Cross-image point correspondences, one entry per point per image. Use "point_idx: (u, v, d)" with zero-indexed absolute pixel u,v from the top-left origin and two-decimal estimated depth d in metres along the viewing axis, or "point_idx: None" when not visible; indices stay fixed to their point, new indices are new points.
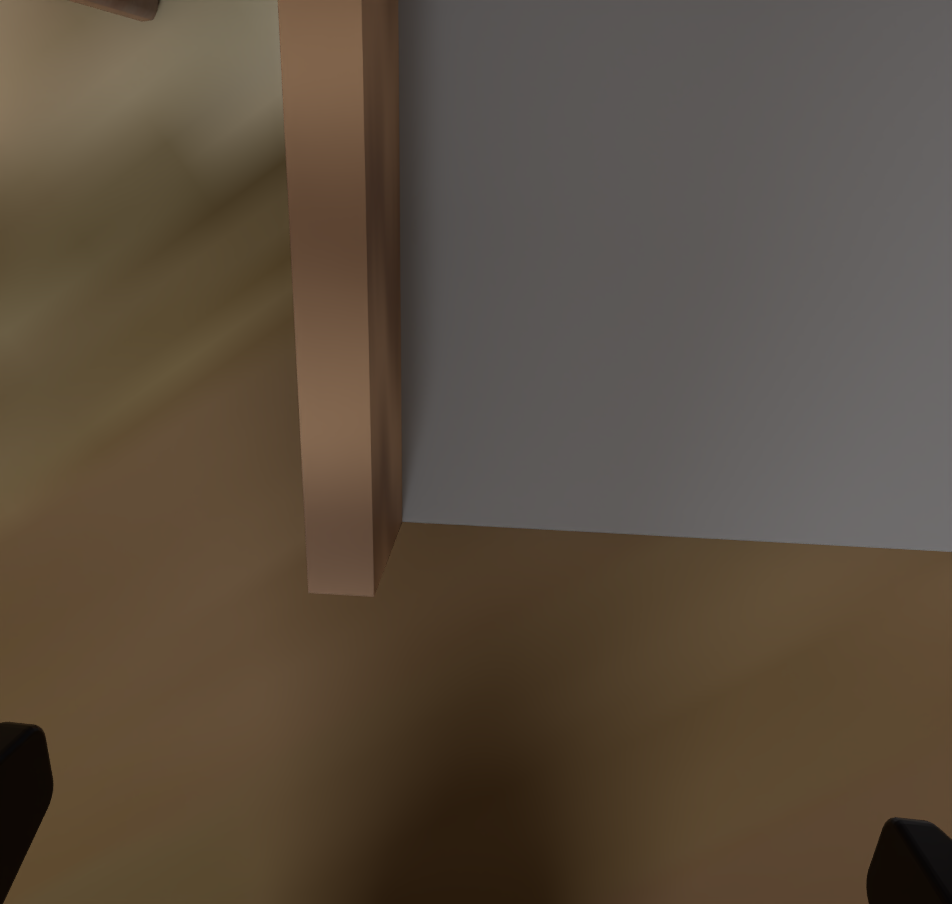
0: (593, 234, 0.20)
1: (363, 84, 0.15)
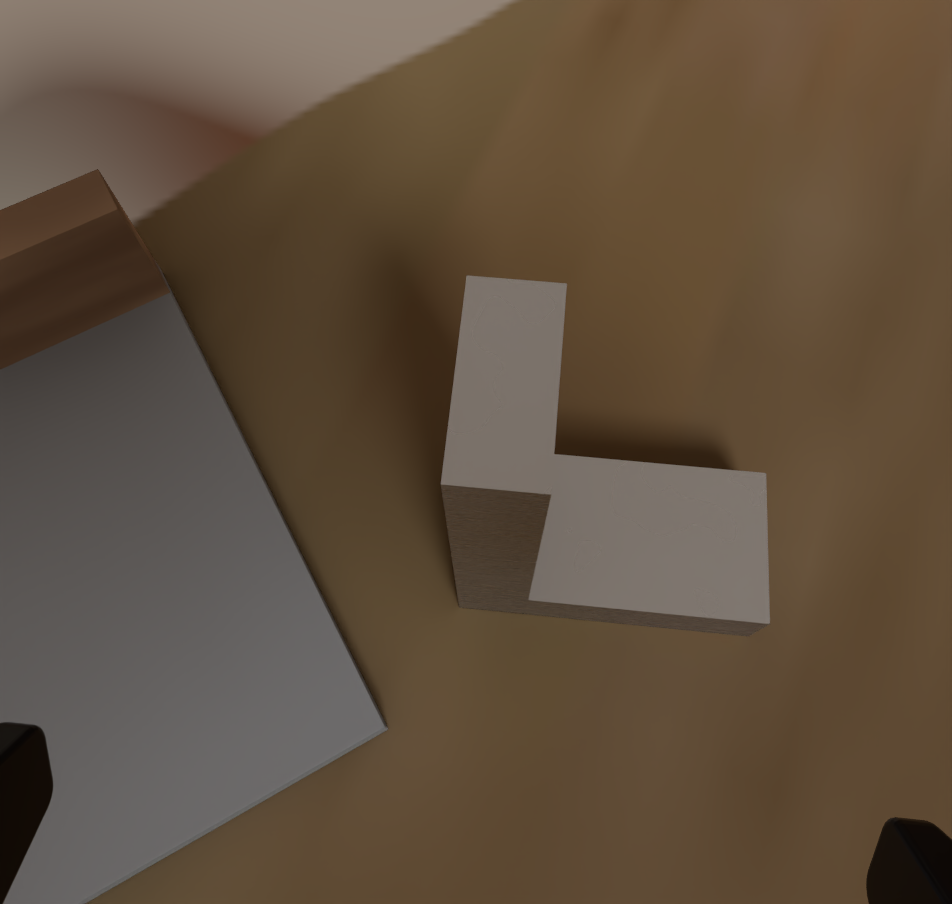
0: None
1: None
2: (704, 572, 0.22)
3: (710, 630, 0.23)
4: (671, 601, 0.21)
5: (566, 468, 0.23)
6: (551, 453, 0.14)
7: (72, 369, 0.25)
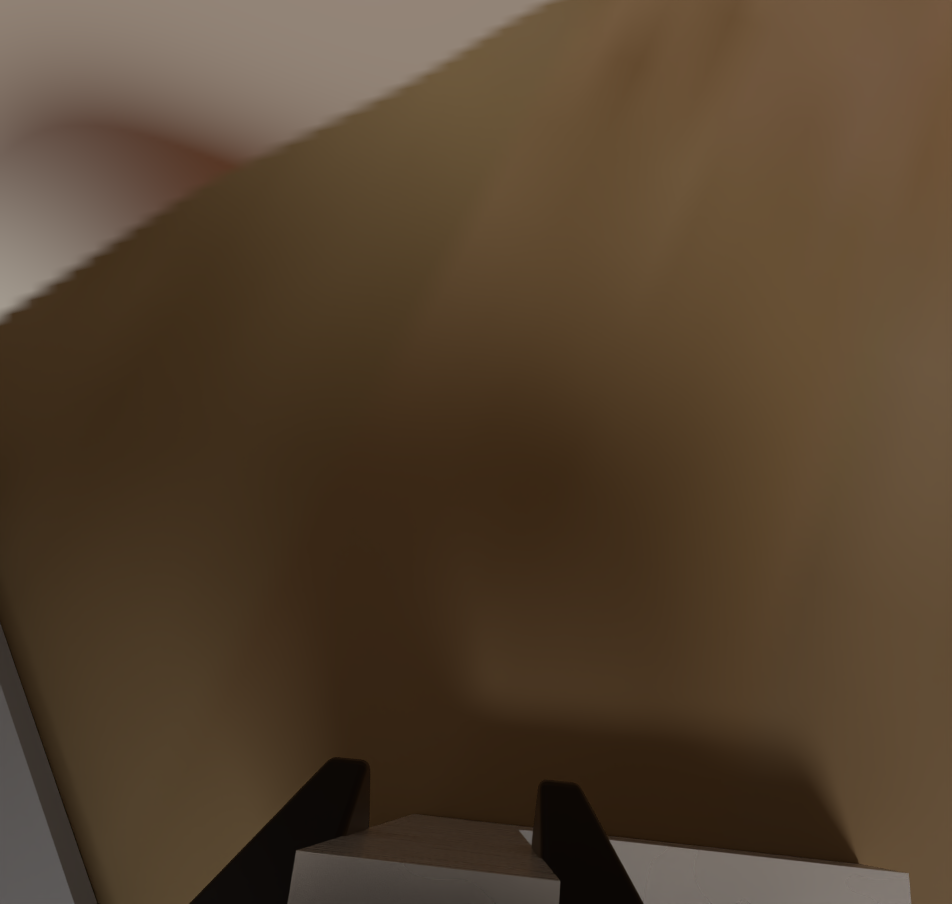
0: None
1: None
2: None
3: None
4: None
5: None
6: None
7: None
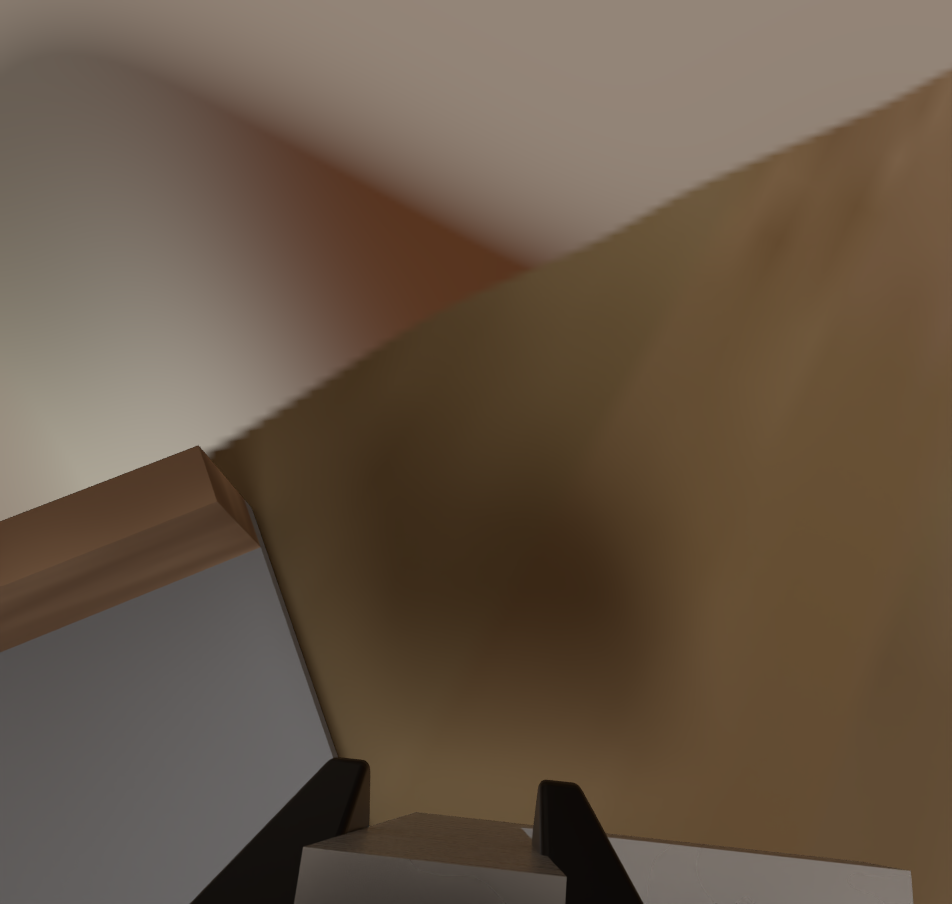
0: None
1: None
2: None
3: None
4: None
5: None
6: None
7: (145, 634, 0.22)
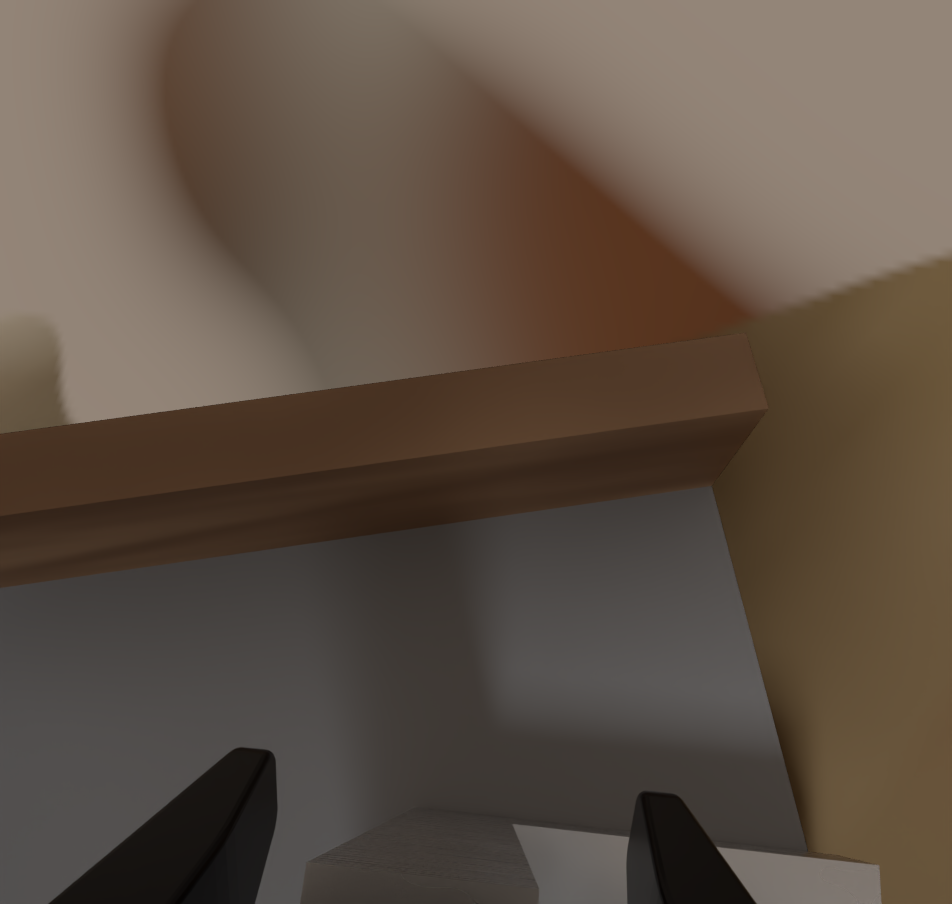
0: None
1: None
2: None
3: None
4: None
5: (555, 854, 0.14)
6: None
7: (561, 556, 0.18)
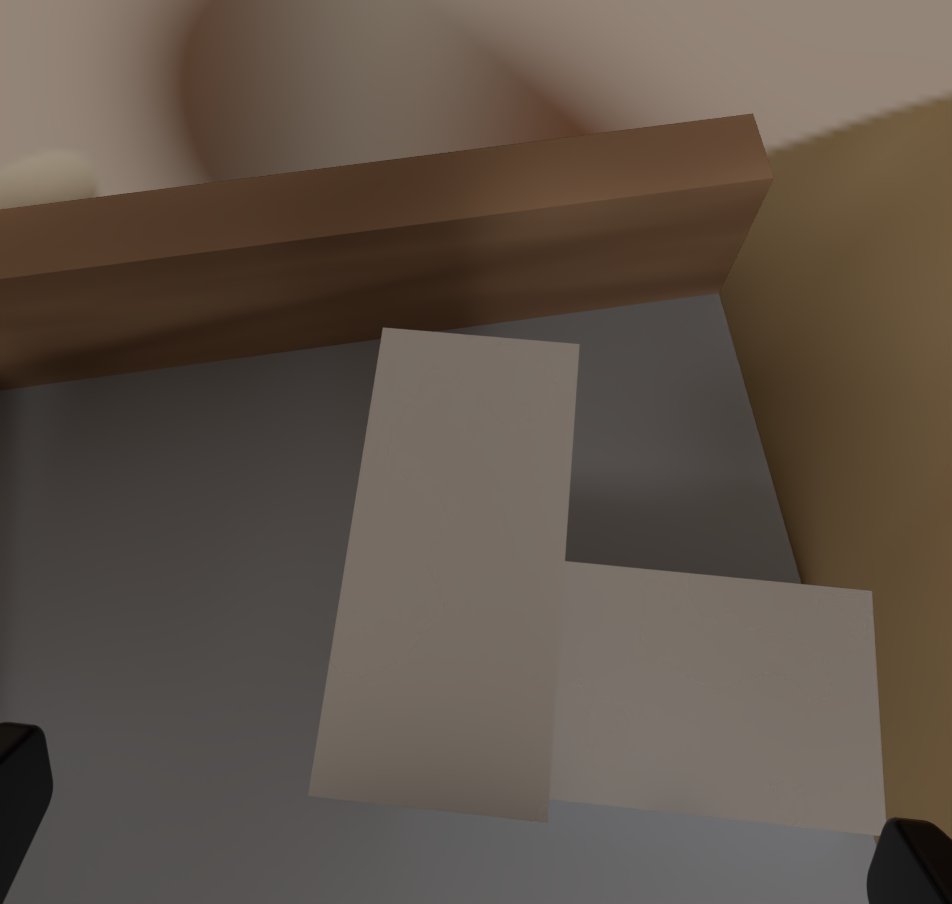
0: (202, 677, 0.16)
1: None
2: (783, 750, 0.14)
3: None
4: (734, 798, 0.14)
5: (573, 583, 0.15)
6: (547, 721, 0.07)
7: None
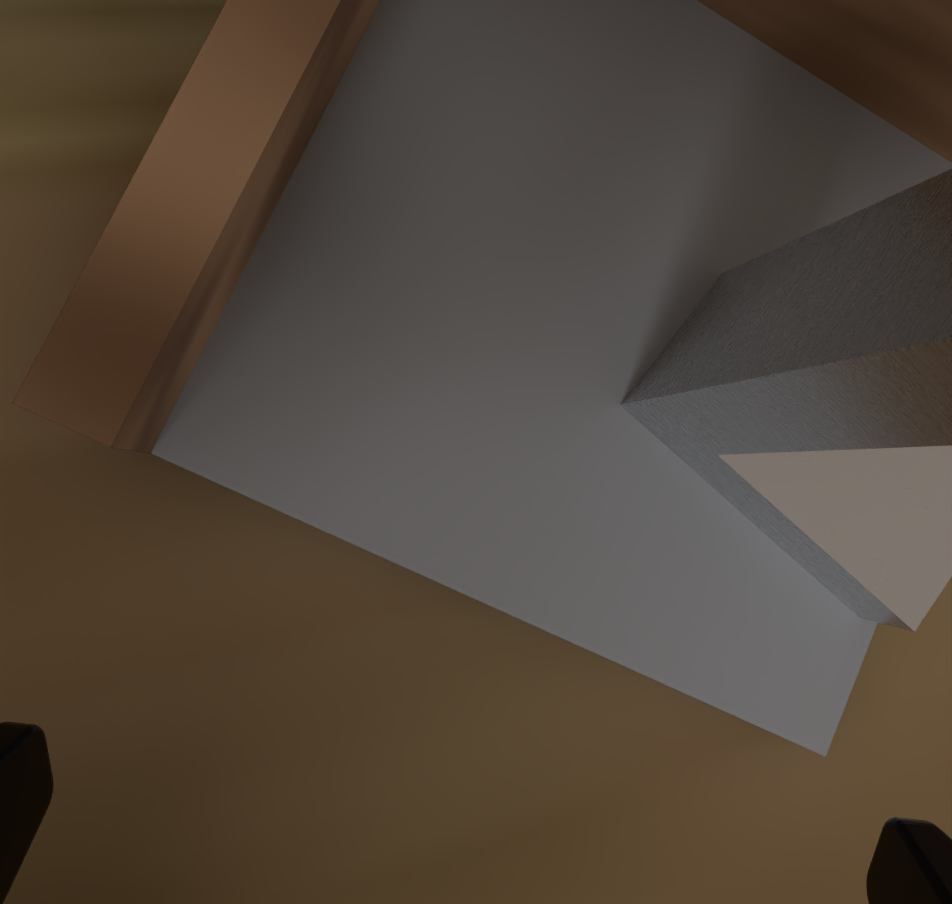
0: (513, 224, 0.18)
1: None
2: (892, 543, 0.18)
3: (835, 591, 0.20)
4: (845, 550, 0.18)
5: None
6: None
7: (913, 184, 0.21)
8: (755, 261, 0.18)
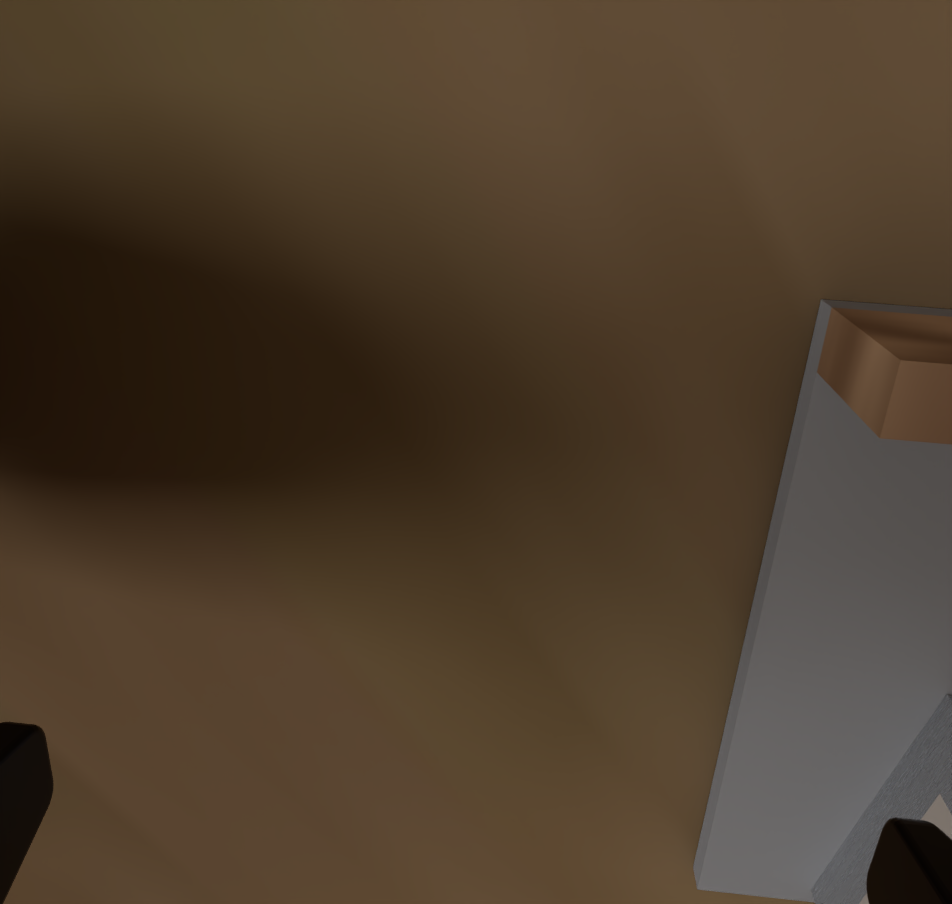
0: None
1: None
2: None
3: (830, 873, 0.25)
4: None
5: None
6: None
7: None
8: None
